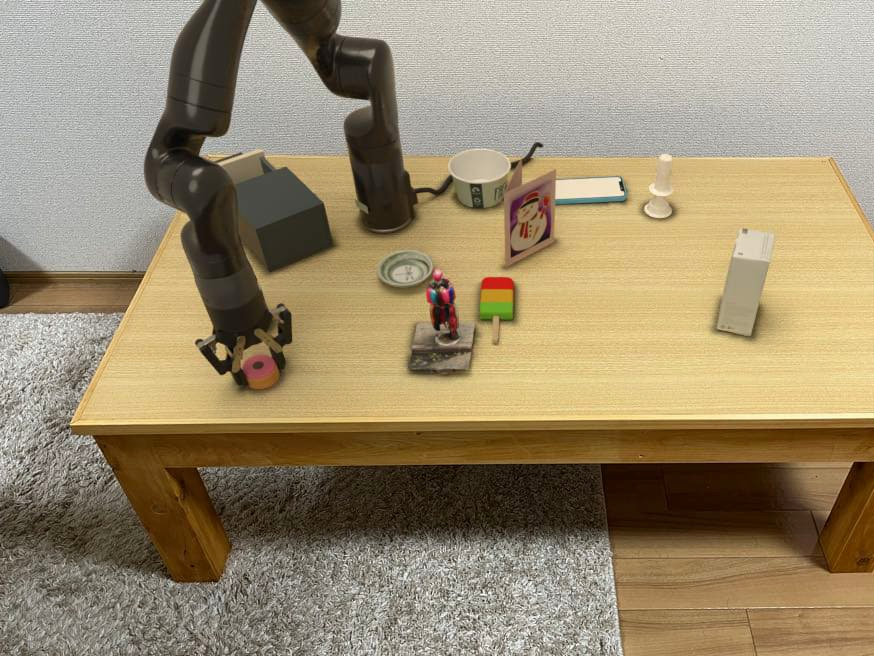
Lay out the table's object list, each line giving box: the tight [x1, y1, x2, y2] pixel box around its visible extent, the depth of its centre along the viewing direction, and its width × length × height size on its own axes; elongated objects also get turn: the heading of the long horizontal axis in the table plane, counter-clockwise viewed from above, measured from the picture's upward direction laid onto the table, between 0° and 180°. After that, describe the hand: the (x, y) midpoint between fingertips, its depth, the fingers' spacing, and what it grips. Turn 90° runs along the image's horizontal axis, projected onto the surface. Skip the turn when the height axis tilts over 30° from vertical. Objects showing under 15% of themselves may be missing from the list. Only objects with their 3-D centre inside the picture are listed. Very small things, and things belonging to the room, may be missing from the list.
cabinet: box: [235, 166, 335, 273], centre depth 137 cm, size 15×13×9 cm
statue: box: [406, 268, 476, 375], centre depth 117 cm, size 11×9×15 cm
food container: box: [447, 148, 512, 209], centre depth 148 cm, size 12×12×6 cm
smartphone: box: [555, 175, 627, 205], centre depth 151 cm, size 8×1×15 cm
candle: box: [643, 153, 675, 219], centre depth 143 cm, size 5×5×12 cm
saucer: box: [376, 249, 434, 289], centre depth 133 cm, size 10×10×2 cm
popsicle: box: [478, 276, 515, 342], centre depth 127 cm, size 6×15×2 cm, turn 0°
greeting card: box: [503, 157, 557, 268], centre depth 134 cm, size 11×7×15 cm, turn 131°
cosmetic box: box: [716, 227, 776, 337], centre depth 122 cm, size 8×6×15 cm
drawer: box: [214, 148, 277, 185], centre depth 144 cm, size 18×11×7 cm, turn 38°
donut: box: [241, 354, 281, 390], centre depth 116 cm, size 5×5×3 cm
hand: (261, 374), depth 117 cm, fingers closed on donut, 5 cm apart
